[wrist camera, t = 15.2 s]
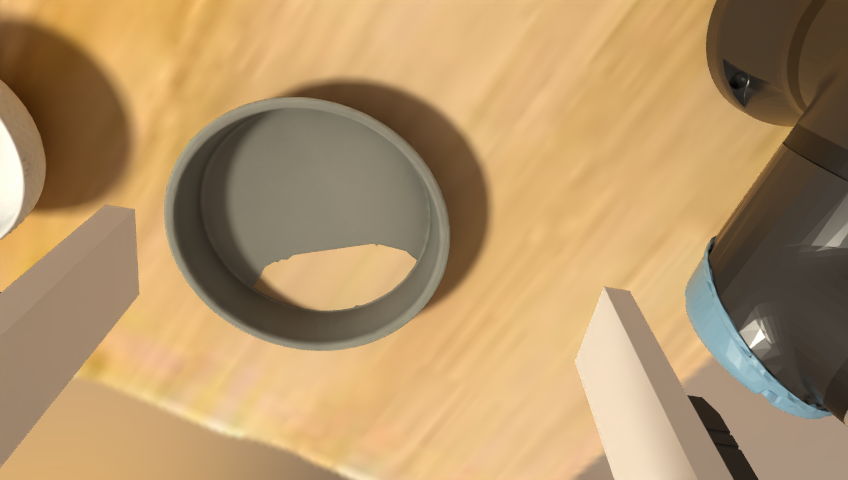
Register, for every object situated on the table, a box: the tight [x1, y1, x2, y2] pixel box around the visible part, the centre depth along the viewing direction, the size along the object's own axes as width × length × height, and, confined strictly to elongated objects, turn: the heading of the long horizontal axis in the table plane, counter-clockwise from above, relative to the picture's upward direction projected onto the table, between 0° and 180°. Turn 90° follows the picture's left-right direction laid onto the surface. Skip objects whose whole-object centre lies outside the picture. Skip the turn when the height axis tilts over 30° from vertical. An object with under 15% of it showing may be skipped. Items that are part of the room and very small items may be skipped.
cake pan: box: [164, 97, 450, 351], centre depth 52 cm, size 25×25×4 cm
